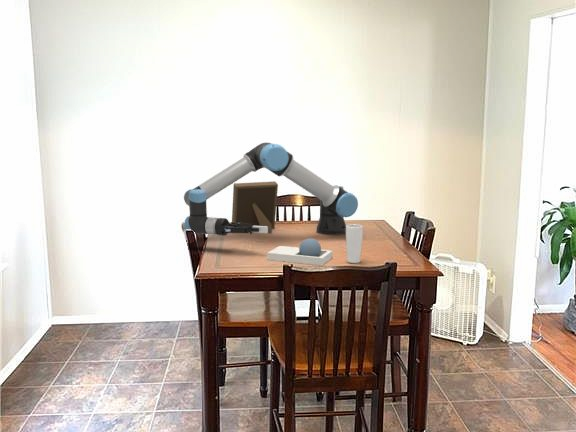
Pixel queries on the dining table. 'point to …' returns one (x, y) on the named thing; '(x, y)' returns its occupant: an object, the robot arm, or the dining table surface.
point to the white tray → (298, 256)
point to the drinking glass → (354, 242)
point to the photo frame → (255, 203)
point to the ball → (310, 248)
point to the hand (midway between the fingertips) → (267, 230)
